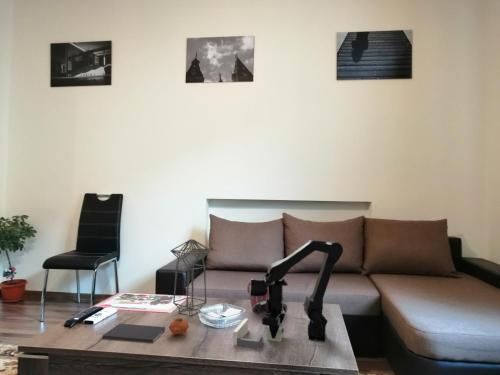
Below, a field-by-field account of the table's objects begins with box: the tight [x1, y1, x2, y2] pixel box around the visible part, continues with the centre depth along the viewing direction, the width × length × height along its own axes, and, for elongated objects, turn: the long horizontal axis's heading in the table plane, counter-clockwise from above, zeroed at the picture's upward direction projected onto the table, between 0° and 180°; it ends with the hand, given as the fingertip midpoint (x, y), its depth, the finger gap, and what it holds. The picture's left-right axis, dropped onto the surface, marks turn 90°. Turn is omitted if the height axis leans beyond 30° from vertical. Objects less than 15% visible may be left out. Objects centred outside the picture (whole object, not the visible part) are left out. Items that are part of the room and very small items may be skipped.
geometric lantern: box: [170, 238, 213, 317], centre depth 166 cm, size 16×16×35 cm
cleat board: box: [232, 317, 264, 350], centre depth 135 cm, size 10×14×5 cm
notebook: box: [101, 323, 166, 343], centre depth 139 cm, size 13×2×21 cm
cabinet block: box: [266, 323, 285, 343], centre depth 136 cm, size 6×5×5 cm
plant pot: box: [246, 281, 268, 314], centre depth 169 cm, size 14×14×13 cm
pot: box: [168, 317, 190, 337], centre depth 139 cm, size 8×8×7 cm
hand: (275, 335), depth 136 cm, fingers open, 5 cm apart
